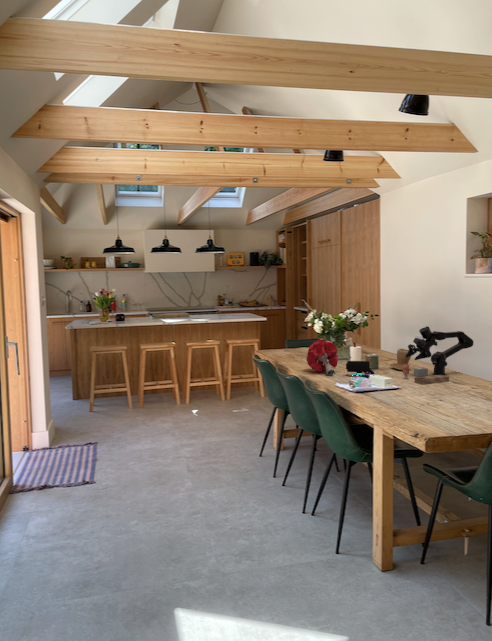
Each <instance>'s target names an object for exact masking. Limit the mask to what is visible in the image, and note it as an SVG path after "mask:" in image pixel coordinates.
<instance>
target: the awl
mask: <svg viewBox="0 0 492 641" xmlns="http://www.w3.org/2000/svg"><path fill="white" fill-rule="evenodd" d="M409 368H410V364H408V365H407V364H404V365H403V370H402V374H403V375H404V377H403V378H404V380H405V379H406V380H407V379H409V378H408V375H409V374H410V369H409Z"/></svg>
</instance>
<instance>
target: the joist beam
mask: <svg viewBox="0 0 492 641" xmlns="http://www.w3.org/2000/svg"><path fill="white" fill-rule="evenodd" d="M413 380H414V383H416V384H420V385H429V384H438V383H445V382H446V383H447V382H450V376H448V375H435V374H433V375H428V376H423V377H416V376H415V377H414V379H413Z"/></svg>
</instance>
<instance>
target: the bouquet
mask: <svg viewBox="0 0 492 641" xmlns="http://www.w3.org/2000/svg"><path fill="white" fill-rule="evenodd" d="M338 357H339V356H338V349H337V346H336V345H335V344H334V341H327V340H326V339H319V340H315V341H314V342H313V343H312V344H310V346H309V348H308V350H307V355H306V362H307V366H309V367H310V368H311V369H312V370H314V371H317V372H319V373H322V372H326V374H327V376H329V377H330V376H333V375H334V374H335V369H334V368H336V367H337V366H338V362H339V359H338Z"/></svg>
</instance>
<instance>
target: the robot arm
mask: <svg viewBox="0 0 492 641" xmlns="http://www.w3.org/2000/svg"><path fill="white" fill-rule="evenodd" d="M419 333H420V336H421V338H418V337H415V338H414V339H413V341H412V343H414V344H415V345H414V344H411V343H410V344H408V345H407V348H408V350H409V351H408V353H407V355H406V358H407V357H409V356H411V357H412V356H413V355H415V354H417V353H418V352H419V353H418V355H416V357H414V360H415V361H419V360H422V359H428V358H430V361H431V364H432V365H433V373H432V375H444V376H447V373H446V367H447V366H448V362H447V361H446V360H447V358H449V357H451V356H453V355H455V354H456V353H458V352H460V351H461V350H464V349H469V348H472V347H473V346H474V340H473V339H472V338H471V337H470V336H468V335H467V334H466V333H465V332H464V331H461V330H460V331H459V330H458V331H445V332H444V331H443V332H442V331H437V330H435V331H432V330H431V328H430V327H429V326H425V327H422V328H420V329H419ZM451 338H456V339H457V340H458V342H457V343H456V344H454V345H453V346H451V347H449V348H447V349H446V350H443V351H436V352H434V353H432V352H431V348H432V347H433V346H436V347H438V341H444V340H446V339H451Z"/></svg>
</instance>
